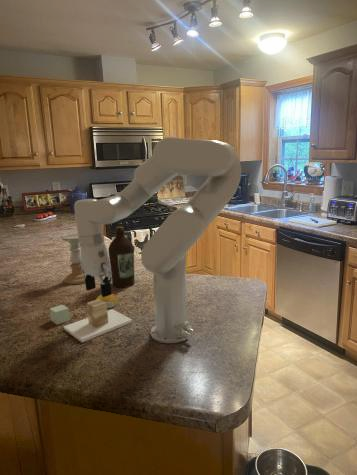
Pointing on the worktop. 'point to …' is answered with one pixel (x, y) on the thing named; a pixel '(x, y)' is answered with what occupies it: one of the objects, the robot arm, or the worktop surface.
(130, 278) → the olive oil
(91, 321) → the maple block
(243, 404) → the worktop surface
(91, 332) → the ceramic tile
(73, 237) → the candle holder
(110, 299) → the bread roll
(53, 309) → the sage cube
